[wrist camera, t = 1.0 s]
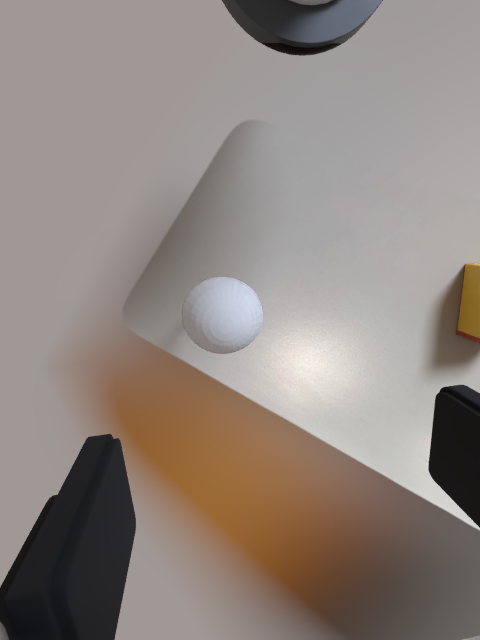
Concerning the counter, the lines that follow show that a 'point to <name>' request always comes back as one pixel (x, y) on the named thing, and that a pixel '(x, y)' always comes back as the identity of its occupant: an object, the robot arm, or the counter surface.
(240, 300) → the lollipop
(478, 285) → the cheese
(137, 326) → the counter surface
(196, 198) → the counter surface
